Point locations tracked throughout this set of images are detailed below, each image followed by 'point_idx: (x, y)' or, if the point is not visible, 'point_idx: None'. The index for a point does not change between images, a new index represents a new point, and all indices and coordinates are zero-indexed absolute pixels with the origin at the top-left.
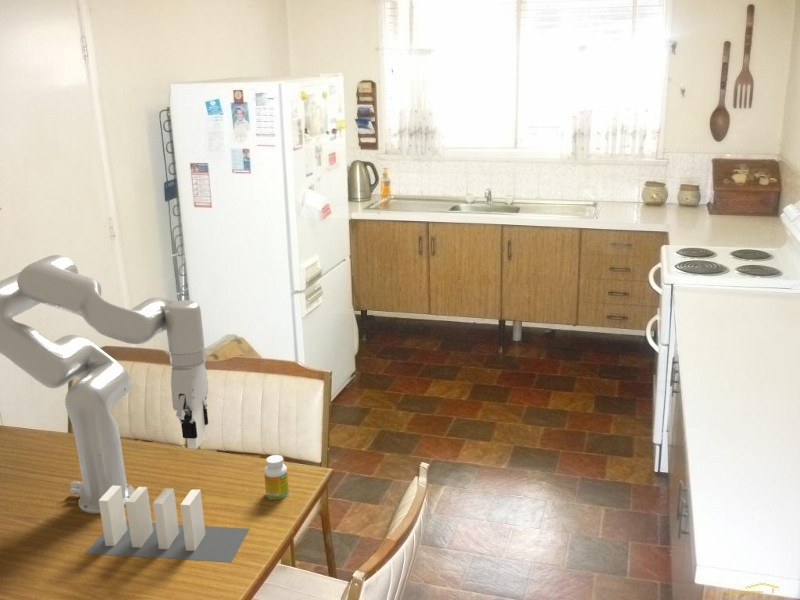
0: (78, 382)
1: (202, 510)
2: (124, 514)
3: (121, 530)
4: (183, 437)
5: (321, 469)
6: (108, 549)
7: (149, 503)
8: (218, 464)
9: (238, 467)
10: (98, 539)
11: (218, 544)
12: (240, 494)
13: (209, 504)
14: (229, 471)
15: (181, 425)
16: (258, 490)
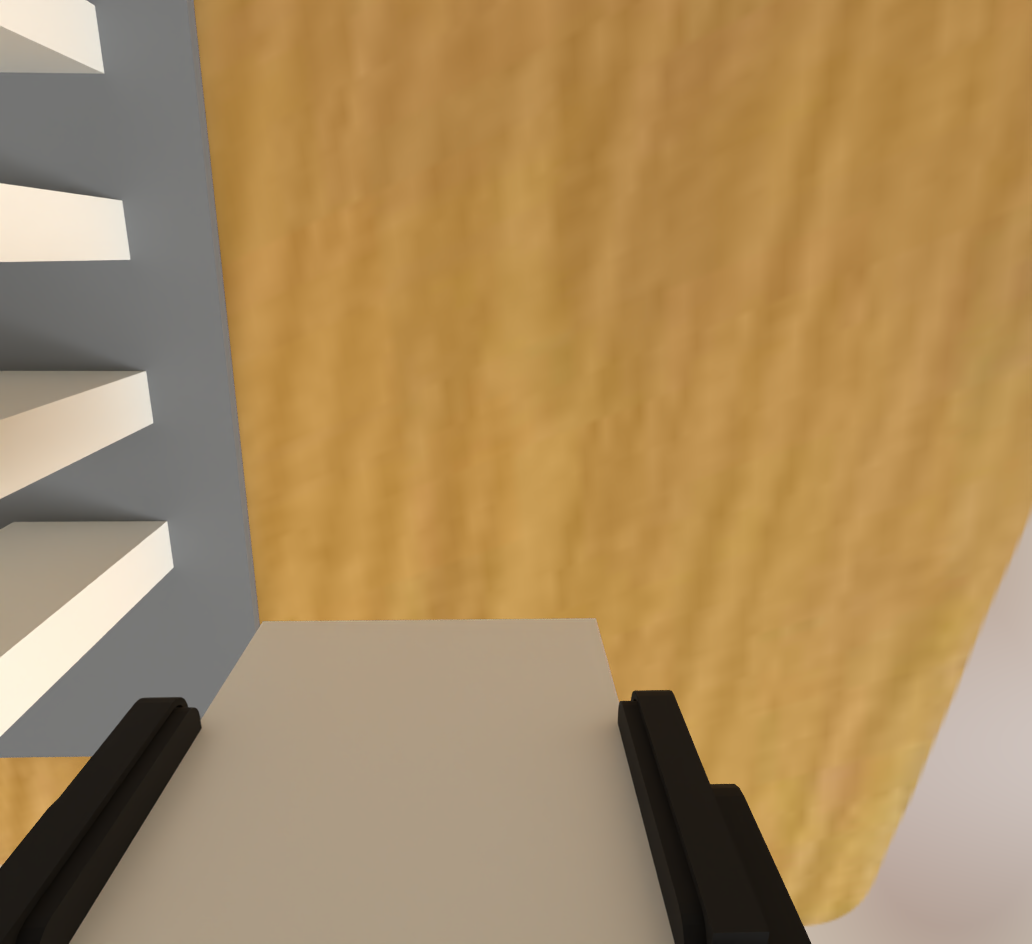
0: None
1: (90, 643)
2: (17, 39)
3: (3, 61)
4: (144, 703)
5: (854, 903)
6: None
7: (5, 261)
8: (956, 355)
9: (906, 493)
10: None
11: (106, 659)
12: (600, 600)
13: (484, 469)
14: (860, 455)
15: (7, 865)
16: (645, 677)
